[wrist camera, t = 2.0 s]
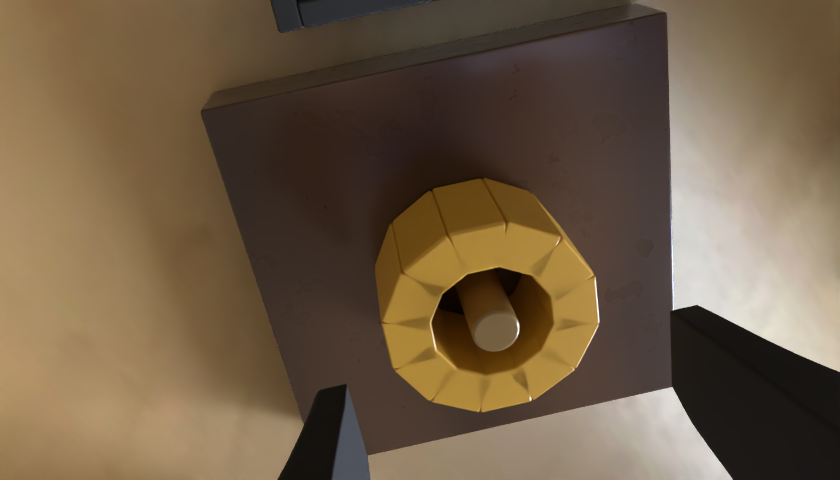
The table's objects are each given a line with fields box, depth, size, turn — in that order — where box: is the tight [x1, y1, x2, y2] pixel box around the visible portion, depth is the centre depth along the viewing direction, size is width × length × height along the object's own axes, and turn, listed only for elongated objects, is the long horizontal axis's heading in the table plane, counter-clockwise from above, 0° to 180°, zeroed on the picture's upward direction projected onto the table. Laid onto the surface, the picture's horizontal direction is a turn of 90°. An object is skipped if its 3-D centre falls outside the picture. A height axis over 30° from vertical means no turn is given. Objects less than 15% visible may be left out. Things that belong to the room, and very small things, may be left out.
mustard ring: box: [375, 178, 599, 412], centre depth 19 cm, size 5×5×3 cm
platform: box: [200, 3, 674, 456], centre depth 19 cm, size 12×12×5 cm
